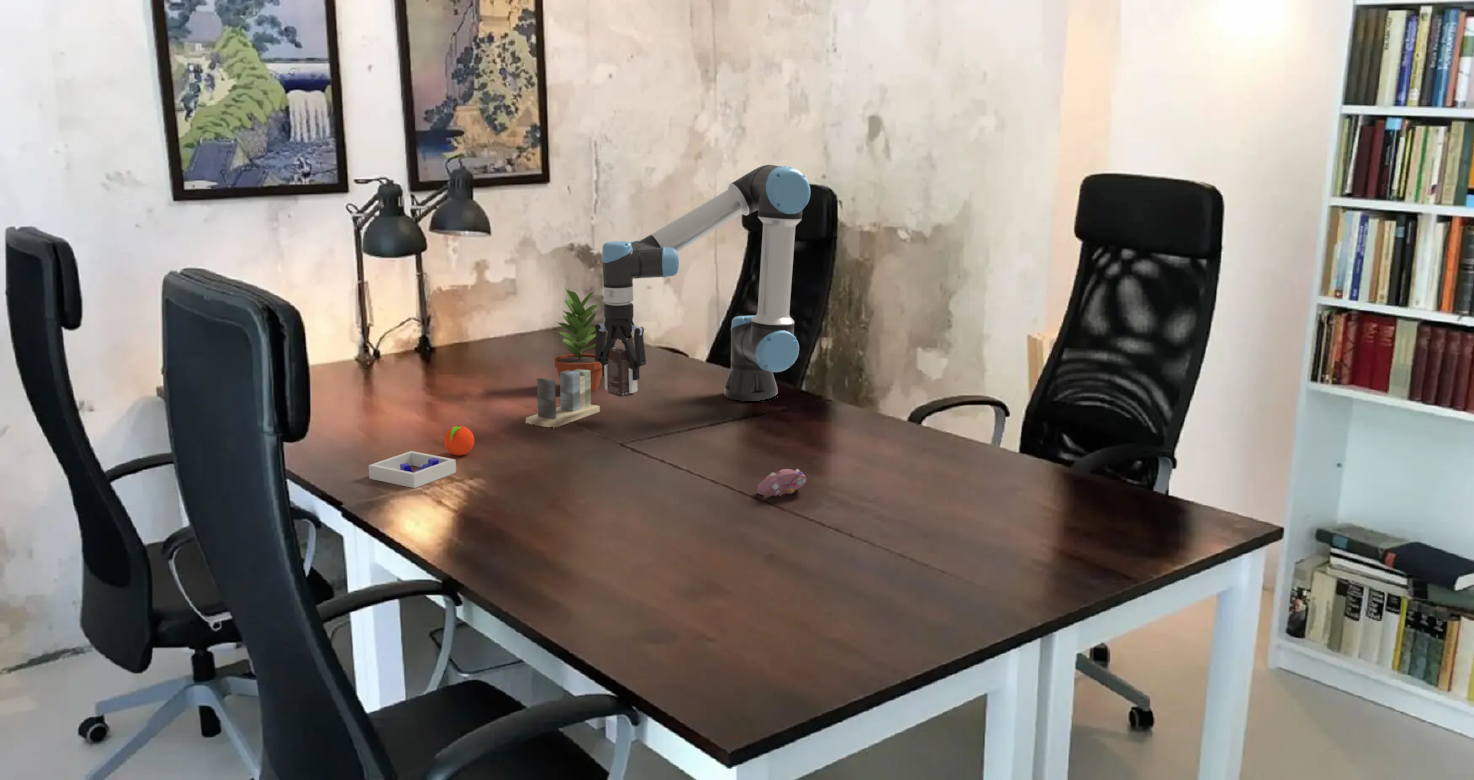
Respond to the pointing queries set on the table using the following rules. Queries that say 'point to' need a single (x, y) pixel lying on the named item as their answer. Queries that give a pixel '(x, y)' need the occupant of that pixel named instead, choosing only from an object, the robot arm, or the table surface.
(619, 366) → the box
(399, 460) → the desk organiser frame
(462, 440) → the clementine
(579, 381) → the book rack
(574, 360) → the potted plant
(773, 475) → the video game controller
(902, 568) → the table surface
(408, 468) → the cable holder
